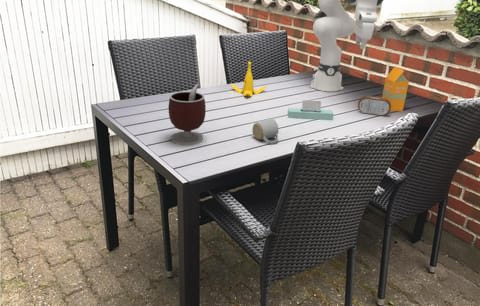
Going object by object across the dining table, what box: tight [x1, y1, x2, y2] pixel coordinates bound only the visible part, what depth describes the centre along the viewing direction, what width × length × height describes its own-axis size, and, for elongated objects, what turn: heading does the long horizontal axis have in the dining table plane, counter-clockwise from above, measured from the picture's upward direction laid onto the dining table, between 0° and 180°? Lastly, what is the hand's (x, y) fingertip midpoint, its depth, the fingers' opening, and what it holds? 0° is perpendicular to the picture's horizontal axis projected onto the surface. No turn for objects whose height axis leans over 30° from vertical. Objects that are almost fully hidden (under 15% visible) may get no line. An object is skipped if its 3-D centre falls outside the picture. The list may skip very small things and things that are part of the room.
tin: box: [357, 95, 391, 117], centre depth 198 cm, size 15×3×8 cm, turn 71°
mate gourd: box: [168, 83, 207, 146], centre depth 160 cm, size 16×14×20 cm
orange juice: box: [381, 66, 410, 112], centre depth 206 cm, size 8×9×20 cm
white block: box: [301, 99, 322, 112], centre depth 191 cm, size 8×2×8 cm, turn 88°
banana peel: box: [230, 61, 267, 97], centre depth 220 cm, size 17×19×17 cm
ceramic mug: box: [252, 117, 279, 145], centre depth 165 cm, size 11×8×8 cm
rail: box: [287, 107, 334, 121], centre depth 192 cm, size 5×20×3 cm, turn 88°
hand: (359, 46), depth 190 cm, fingers open, 8 cm apart
